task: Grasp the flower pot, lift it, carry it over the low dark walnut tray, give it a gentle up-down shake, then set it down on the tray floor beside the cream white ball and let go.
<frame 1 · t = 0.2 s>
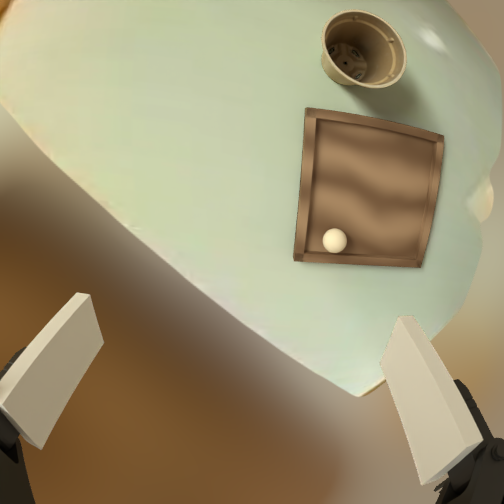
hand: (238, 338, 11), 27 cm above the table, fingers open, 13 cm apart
tray: (372, 192, 35), on the table
cream white ball: (332, 236, 37), resting on tray
flower pot: (344, 64, 29), on the table
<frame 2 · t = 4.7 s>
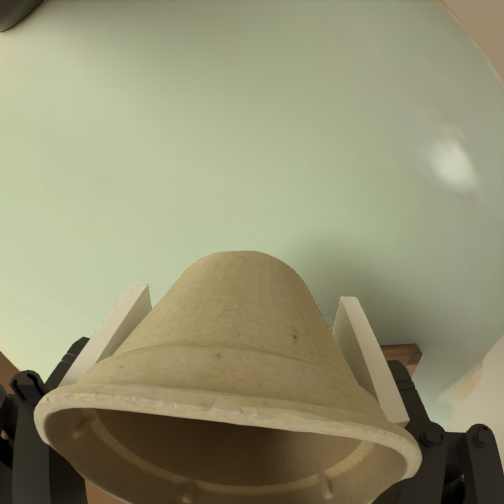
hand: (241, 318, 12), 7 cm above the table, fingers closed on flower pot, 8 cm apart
tray: (293, 416, 25), on the table
flower pot: (244, 309, 13), point 7 cm above the table, touching gripper
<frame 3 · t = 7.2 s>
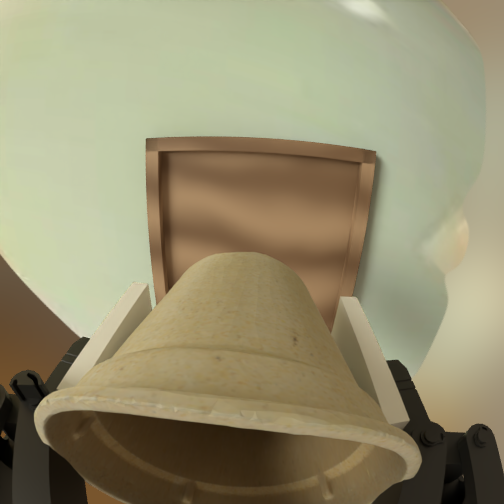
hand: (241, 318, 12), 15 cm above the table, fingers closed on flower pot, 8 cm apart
tray: (255, 245, 27), on the table
flower pot: (244, 310, 13), point 15 cm above the table, touching gripper
when the fingers open (1 cm above the table, at t = 10.0 s): flower pot stays where it is, resting on tray.
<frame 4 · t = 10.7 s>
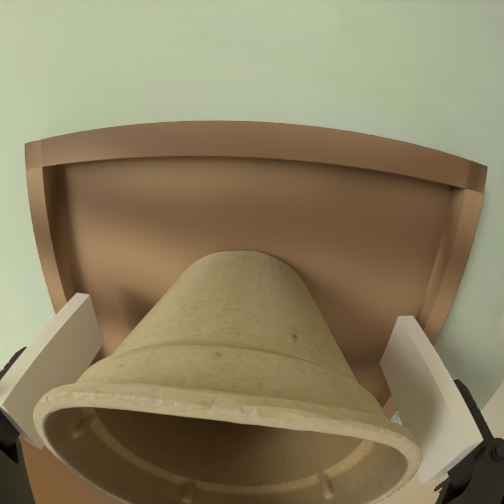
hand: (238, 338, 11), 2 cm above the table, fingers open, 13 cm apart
tray: (241, 339, 14), on the table
flower pot: (243, 309, 13), resting on tray
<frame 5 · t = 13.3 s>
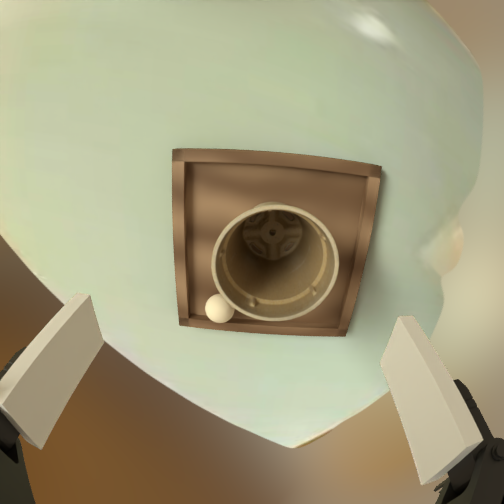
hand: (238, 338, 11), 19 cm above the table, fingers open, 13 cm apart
tray: (271, 249, 30), on the table
cream white ball: (221, 300, 32), resting on tray
flower pot: (273, 230, 29), resting on tray
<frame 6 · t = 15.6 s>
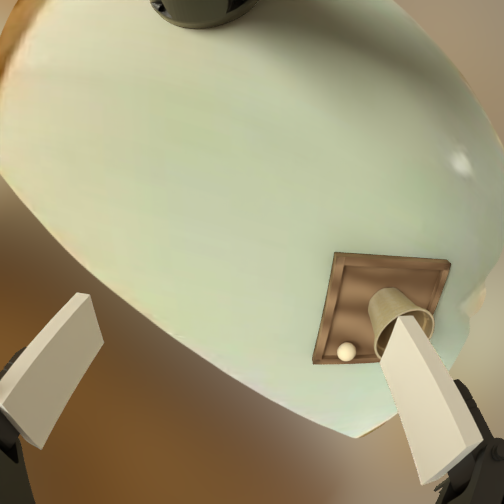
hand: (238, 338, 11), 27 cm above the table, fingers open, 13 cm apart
tray: (381, 312, 42), on the table
cream white ball: (344, 345, 44), resting on tray
flower pot: (385, 302, 41), resting on tray
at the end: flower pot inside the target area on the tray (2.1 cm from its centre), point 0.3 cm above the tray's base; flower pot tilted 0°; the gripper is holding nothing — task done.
